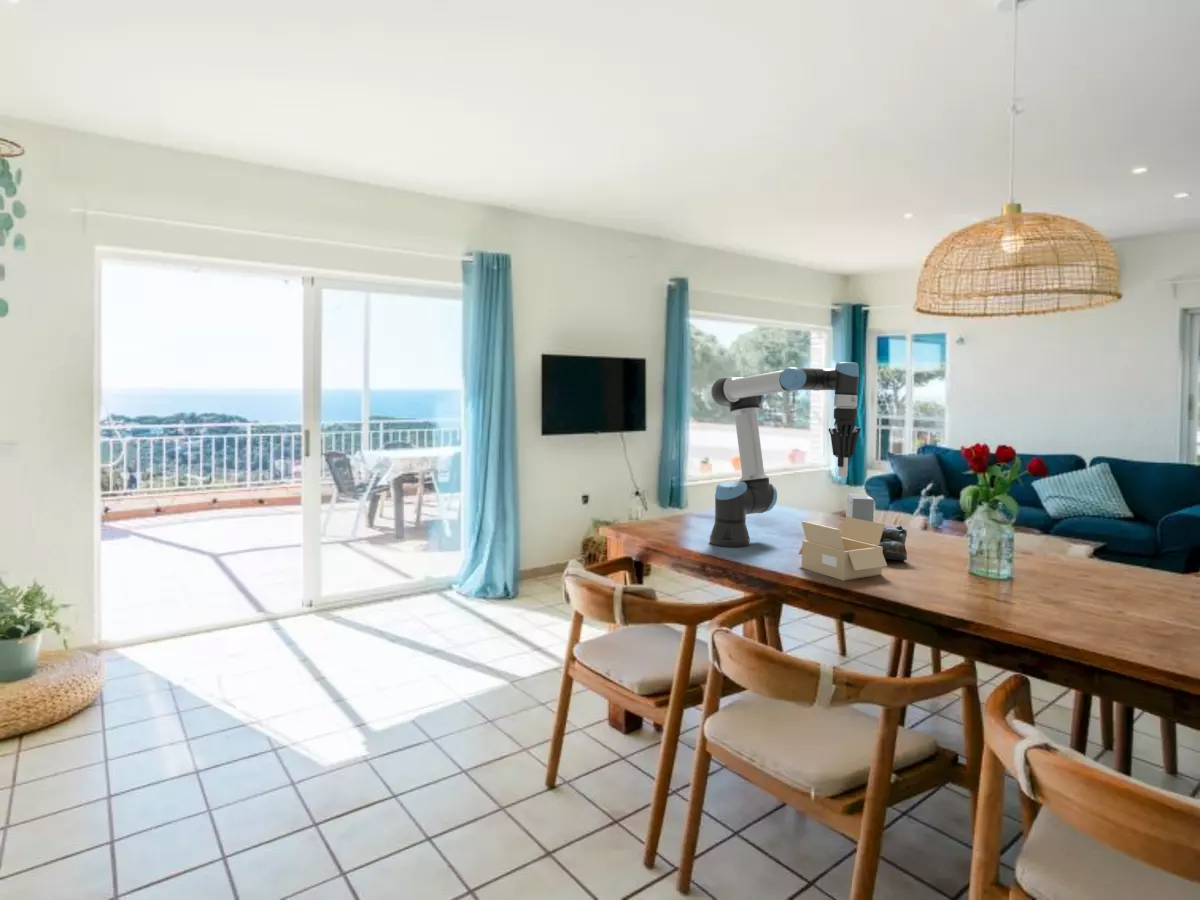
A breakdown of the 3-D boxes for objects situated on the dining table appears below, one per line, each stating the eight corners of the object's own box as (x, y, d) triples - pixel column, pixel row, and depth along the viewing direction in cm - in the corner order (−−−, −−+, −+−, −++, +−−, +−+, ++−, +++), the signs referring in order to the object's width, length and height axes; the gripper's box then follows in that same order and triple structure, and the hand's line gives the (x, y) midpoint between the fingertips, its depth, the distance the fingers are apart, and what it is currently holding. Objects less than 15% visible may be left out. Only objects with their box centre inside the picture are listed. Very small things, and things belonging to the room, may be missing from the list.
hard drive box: (872, 554, 255) (874, 499, 254) (850, 552, 257) (852, 498, 255) (865, 545, 270) (867, 493, 269) (844, 544, 272) (846, 492, 270)
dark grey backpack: (855, 558, 248) (859, 521, 253) (878, 568, 253) (881, 532, 258) (892, 554, 235) (895, 515, 241) (915, 565, 240) (917, 526, 246)
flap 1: (807, 539, 232) (806, 540, 232) (802, 520, 230) (801, 521, 230) (844, 549, 218) (843, 549, 218) (839, 529, 216) (838, 529, 216)
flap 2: (877, 545, 225) (878, 545, 225) (884, 524, 226) (884, 524, 226) (839, 536, 239) (840, 536, 239) (845, 516, 240) (846, 516, 240)
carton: (794, 565, 236) (795, 538, 235) (831, 560, 244) (832, 534, 243) (851, 583, 215) (852, 554, 214) (890, 577, 222) (891, 549, 222)
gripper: (840, 407, 235) (837, 478, 237) (867, 408, 241) (864, 476, 243) (823, 407, 241) (820, 475, 243) (850, 407, 247) (847, 474, 249)
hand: (842, 476), depth 243 cm, fingers closed
